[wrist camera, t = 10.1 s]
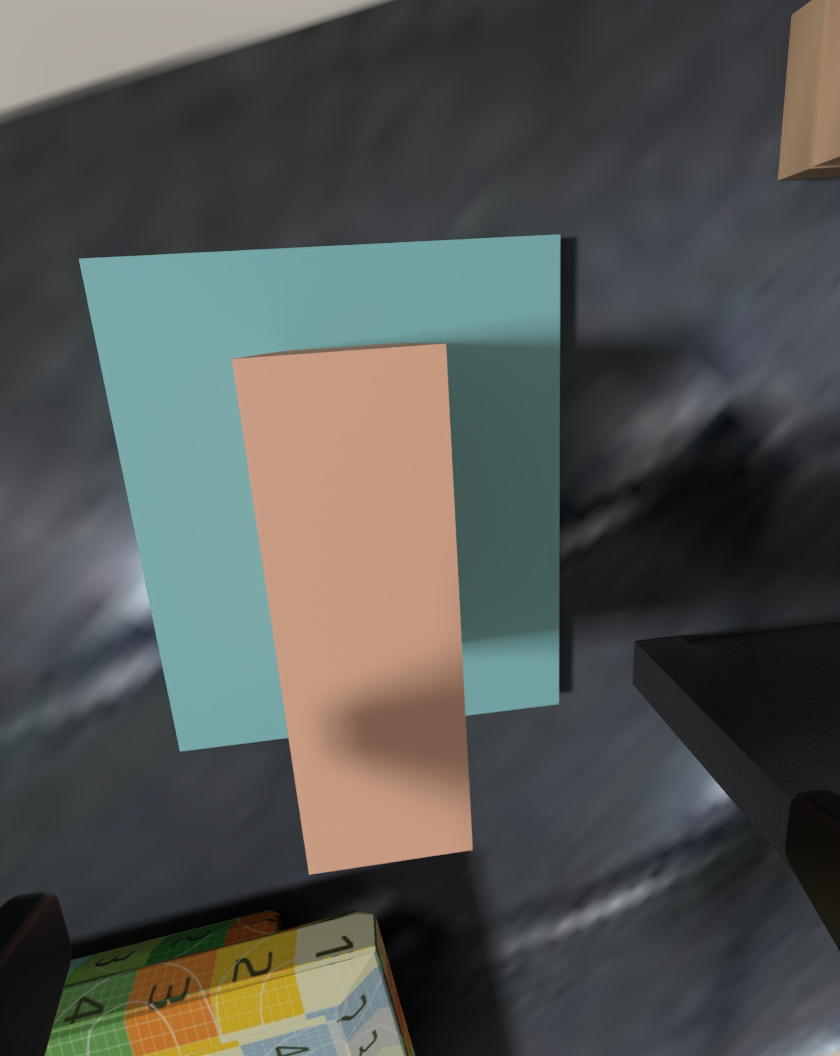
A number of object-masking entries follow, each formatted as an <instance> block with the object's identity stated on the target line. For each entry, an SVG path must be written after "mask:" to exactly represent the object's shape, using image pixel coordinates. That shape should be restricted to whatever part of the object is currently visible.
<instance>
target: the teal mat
mask: <svg viewBox="0 0 840 1056" xmlns="http://www.w3.org/2000/svg"><path fill="white" fill-rule="evenodd" d="M79 262H80V267H81V272H82V277H83V281H84V286H85V291H86V296H87V301H88V306H89V311H90V315H91V320H92V325H93V330H94V335H95V340H96V345H97V350H98V354H99V359H100V364H101V369H102V374H103V379H104V384H105V389H106V393H107V398H108V403H109V408H110V413H111V418H112V423H113V427H114V432H115V437H116V442H117V447H118V452H119V457H120V462H121V466H122V471H123V476H124V481H125V486H126V491H127V496H128V500H129V505H130V510H131V515H132V520H133V525H134V530H135V535H136V539H137V544H138V549H139V554H140V559H141V564H142V569H143V573H144V578H145V583H146V588H147V593H148V598H149V603H150V608H151V612H152V617H153V622H154V627H155V632H156V637H157V642H158V646H159V651H160V656H161V661H162V666H163V671H164V676H165V681H166V685H167V690H168V695H169V700H170V705H171V710H172V715H173V720H174V724H175V729H176V734H177V739H178V744H179V749H180V751H188V750H195V749H203V748H211V747H219V746H227V745H235V744H243V743H251V742H259V741H267V740H275V739H283V738H289V737H288V730H287V724H286V717H285V710H284V704H283V697H282V690H281V684H280V677H279V670H278V664H277V657H276V650H275V644H274V637H273V630H272V624H271V617H270V610H269V604H268V597H267V590H266V584H265V577H264V570H263V564H262V557H261V550H260V544H259V537H258V530H257V524H256V517H255V510H254V504H253V497H252V490H251V484H250V477H249V470H248V464H247V457H246V450H245V444H244V437H243V430H242V424H241V417H240V410H239V404H238V397H237V390H236V384H235V377H234V370H233V364H232V359H235V358H241V357H247V356H254V355H260V354H267V353H273V352H280V351H289V350H304V349H318V348H332V347H346V346H360V345H374V344H388V343H438V344H446V352H447V371H448V390H449V409H450V428H451V447H452V466H453V485H454V504H455V524H456V543H457V562H458V581H459V600H460V619H461V638H462V657H463V676H464V695H465V714H466V716H467V715H475V714H483V713H491V712H499V711H507V710H515V709H523V708H531V707H539V706H547V705H555V704H559V536H560V235H540V236H520V237H500V238H480V239H461V240H441V241H421V242H401V243H381V244H362V245H342V246H322V247H302V248H282V249H263V250H243V251H223V252H203V253H183V254H164V255H144V256H124V257H104V258H84V259H79Z"/></svg>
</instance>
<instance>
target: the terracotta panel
mask: <svg viewBox="0 0 840 1056" xmlns="http://www.w3.org/2000/svg"><path fill="white" fill-rule="evenodd" d="M232 364H233V370H234V377H235V384H236V390H237V397H238V404H239V410H240V417H241V424H242V430H243V437H244V444H245V450H246V457H247V464H248V470H249V477H250V484H251V490H252V497H253V504H254V510H255V517H256V524H257V530H258V537H259V544H260V550H261V557H262V564H263V570H264V577H265V584H266V590H267V597H268V604H269V610H270V617H271V624H272V630H273V637H274V644H275V650H276V657H277V664H278V670H279V677H280V684H281V690H282V697H283V704H284V710H285V717H286V724H287V730H288V737H289V744H290V750H291V757H292V764H293V770H294V777H295V784H296V790H297V797H298V804H299V810H300V817H301V824H302V830H303V837H304V844H305V851H306V857H307V864H308V871H309V875H310V874H317V873H323V872H330V871H337V870H343V869H350V868H357V867H363V866H370V865H377V864H383V863H390V862H397V861H403V860H410V859H417V858H423V857H430V856H437V855H443V854H450V853H457V852H463V851H470V850H473V848H472V829H471V810H470V791H469V772H468V752H467V733H466V714H465V695H464V676H463V657H462V638H461V619H460V600H459V581H458V562H457V543H456V524H455V504H454V485H453V466H452V447H451V428H450V409H449V390H448V371H447V352H446V344H438V343H388V344H374V345H360V346H346V347H332V348H318V349H304V350H289V351H280V352H273V353H267V354H260V355H254V356H247V357H241V358H235V359H232Z"/></svg>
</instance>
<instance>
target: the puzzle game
mask: <svg viewBox="0 0 840 1056" xmlns="http://www.w3.org/2000/svg"><path fill="white" fill-rule="evenodd" d="M45 1056H415V1053H414V1050H413V1046H412V1043H411V1039H410V1036H409V1032H408V1029H407V1025H406V1021H405V1018H404V1014H403V1011H402V1007H401V1004H400V1000H399V997H398V993H397V990H396V986H395V982H394V979H393V975H392V972H391V968H390V965H389V961H388V958H387V954H386V951H385V947H384V944H383V940H382V936H381V933H380V929H379V926H378V922H377V919H376V915H374V914H369V913H363V912H357V911H352V912H348V913H345V914H341V915H337V916H334V917H330V918H327V919H323V920H319V921H316V922H312V923H308V924H305V925H301V926H298V927H294V928H290V929H287V930H284V927H283V924H282V921H281V918H280V915H279V913H276V912H274V911H272V910H266V911H262V912H258V913H254V914H251V915H247V916H243V917H239V918H235V919H231V920H227V921H223V922H219V923H215V924H211V925H207V926H203V927H199V928H196V929H192V930H188V931H184V932H180V933H176V934H172V935H168V936H164V937H160V938H156V939H152V940H148V941H144V942H141V943H137V944H133V945H129V946H125V947H121V948H117V949H113V950H109V951H105V952H101V953H97V954H93V955H90V956H86V957H82V958H78V959H74V960H71V963H70V968H69V972H68V976H67V979H66V983H65V986H64V990H63V993H62V997H61V1001H60V1004H59V1008H58V1011H57V1015H56V1018H55V1022H54V1026H53V1029H52V1033H51V1036H50V1040H49V1043H48V1047H47V1051H46V1054H45Z"/></svg>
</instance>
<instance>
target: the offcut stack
mask: <svg viewBox="0 0 840 1056" xmlns="http://www.w3.org/2000/svg"><path fill="white" fill-rule="evenodd" d="M827 177H840V0H812V1H810V2H809V3H807V4H806V5H805V6H803V7H802V8H801V9H799V10H798V11H796V12H795V13H794V14H792V17H791V29H790V41H789V53H788V65H787V77H786V89H785V101H784V113H783V125H782V137H781V149H780V161H779V173H778V180H793V179H810V178H827Z"/></svg>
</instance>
